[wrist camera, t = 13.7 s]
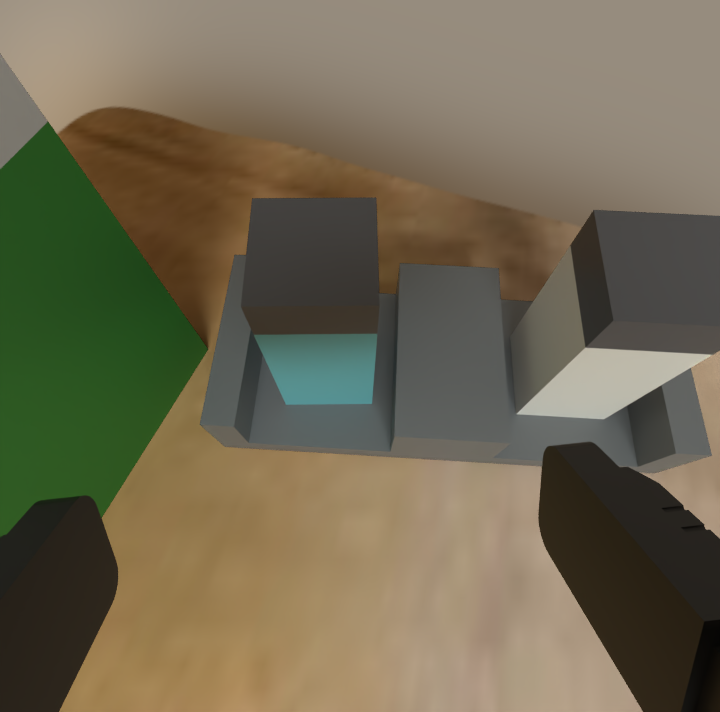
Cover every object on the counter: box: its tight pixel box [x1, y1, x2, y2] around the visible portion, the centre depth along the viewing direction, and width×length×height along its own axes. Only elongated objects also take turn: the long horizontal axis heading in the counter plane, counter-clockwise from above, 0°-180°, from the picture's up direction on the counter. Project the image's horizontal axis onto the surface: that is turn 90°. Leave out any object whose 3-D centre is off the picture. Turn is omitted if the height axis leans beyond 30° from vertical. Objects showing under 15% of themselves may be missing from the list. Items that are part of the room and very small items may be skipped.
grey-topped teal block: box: [241, 198, 380, 405], centre depth 20 cm, size 4×4×10 cm
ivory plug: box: [510, 210, 720, 419], centre depth 20 cm, size 4×4×10 cm
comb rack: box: [200, 255, 712, 473], centre depth 24 cm, size 22×9×4 cm, turn 86°
